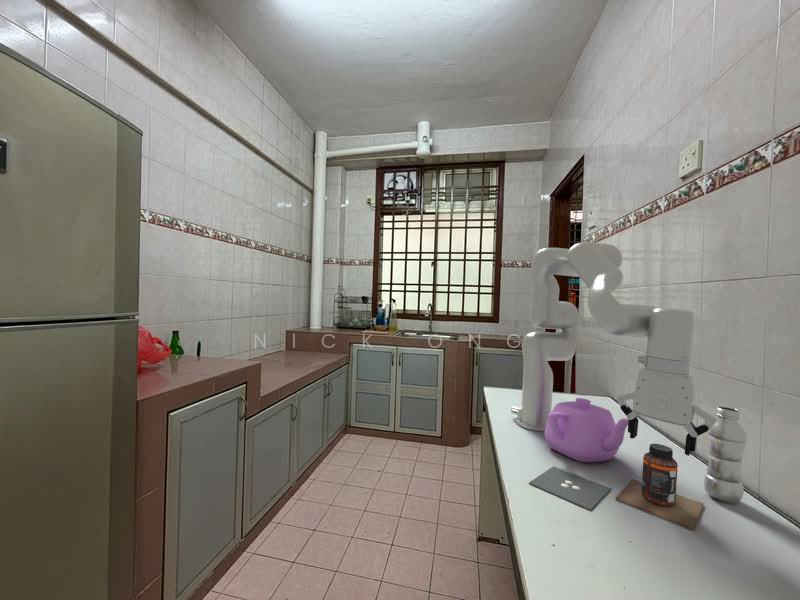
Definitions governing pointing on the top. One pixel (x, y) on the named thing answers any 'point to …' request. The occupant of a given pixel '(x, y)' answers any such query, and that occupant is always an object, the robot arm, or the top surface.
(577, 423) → the teapot
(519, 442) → the top surface
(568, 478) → the dot mat
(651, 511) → the walnut board
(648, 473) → the supplement bottle
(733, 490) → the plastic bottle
